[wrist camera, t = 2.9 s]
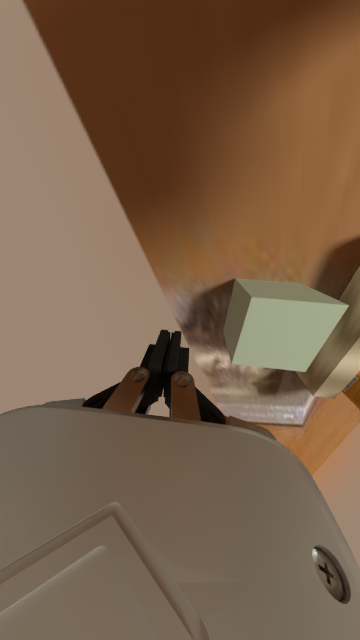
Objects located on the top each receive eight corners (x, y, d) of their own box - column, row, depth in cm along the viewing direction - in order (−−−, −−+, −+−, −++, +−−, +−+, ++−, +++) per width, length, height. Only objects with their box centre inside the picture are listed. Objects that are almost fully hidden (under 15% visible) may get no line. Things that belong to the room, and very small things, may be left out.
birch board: (384, 226, 13) (450, 222, 10) (414, 228, 13) (493, 225, 10) (294, 370, 22) (313, 396, 19) (312, 372, 22) (334, 398, 18)
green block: (235, 277, 17) (251, 297, 12) (300, 283, 16) (349, 305, 11) (222, 330, 20) (231, 363, 15) (276, 336, 20) (305, 372, 15)
